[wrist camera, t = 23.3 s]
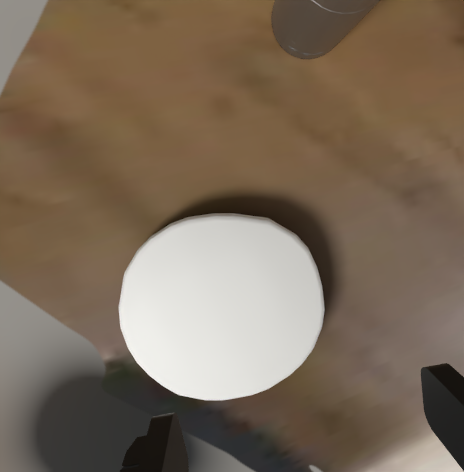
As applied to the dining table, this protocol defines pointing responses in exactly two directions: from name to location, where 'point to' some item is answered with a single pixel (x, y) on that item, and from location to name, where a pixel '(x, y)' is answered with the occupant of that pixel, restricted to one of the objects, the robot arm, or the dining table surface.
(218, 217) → the plate
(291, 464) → the dining table surface
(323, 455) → the dining table surface
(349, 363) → the dining table surface
